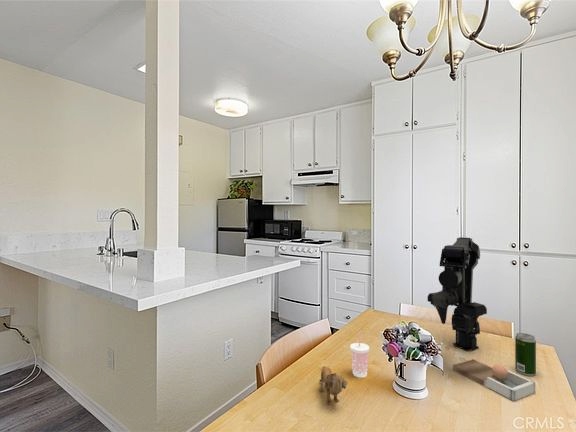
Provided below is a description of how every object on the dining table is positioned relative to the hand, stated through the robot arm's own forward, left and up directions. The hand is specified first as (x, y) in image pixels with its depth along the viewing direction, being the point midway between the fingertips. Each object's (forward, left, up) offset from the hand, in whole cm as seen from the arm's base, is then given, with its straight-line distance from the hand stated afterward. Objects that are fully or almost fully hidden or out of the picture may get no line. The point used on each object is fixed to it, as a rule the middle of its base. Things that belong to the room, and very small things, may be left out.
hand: (455, 328), depth 105 cm
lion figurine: (-2, -48, -13) cm, 50 cm away
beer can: (+12, +17, -13) cm, 25 cm away
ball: (+13, +3, -10) cm, 16 cm away
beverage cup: (-9, -33, -13) cm, 37 cm away
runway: (+7, +2, -13) cm, 15 cm away
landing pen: (+17, +2, -13) cm, 21 cm away
